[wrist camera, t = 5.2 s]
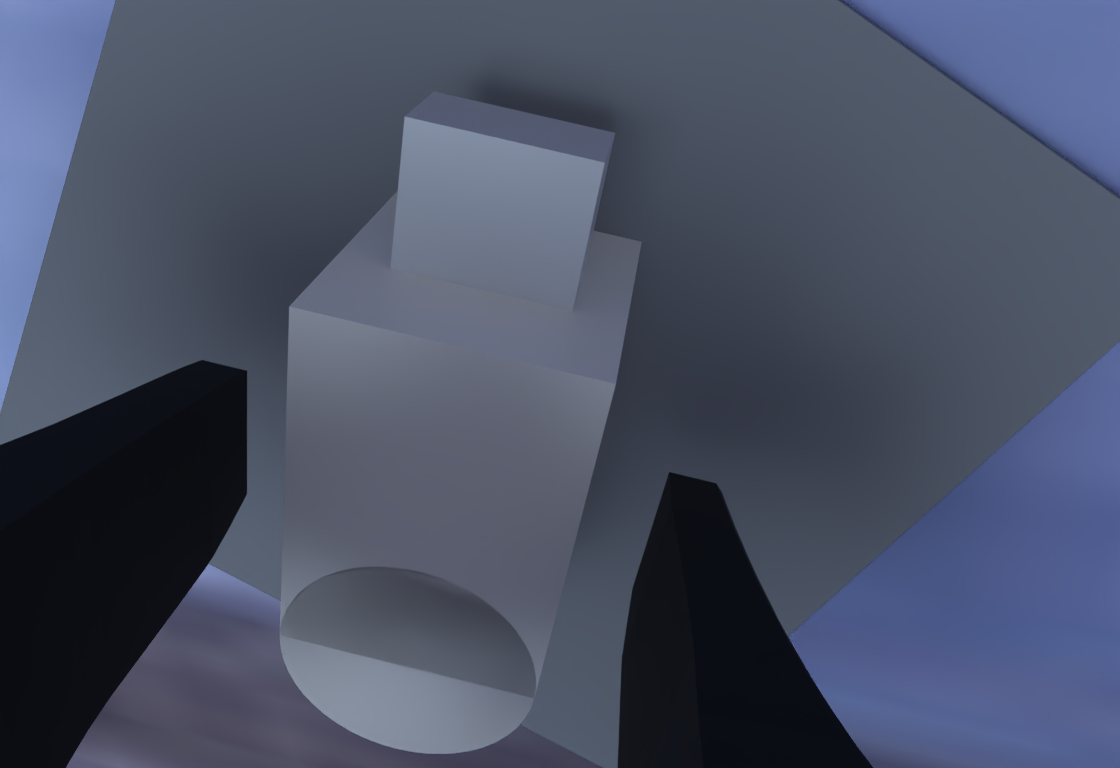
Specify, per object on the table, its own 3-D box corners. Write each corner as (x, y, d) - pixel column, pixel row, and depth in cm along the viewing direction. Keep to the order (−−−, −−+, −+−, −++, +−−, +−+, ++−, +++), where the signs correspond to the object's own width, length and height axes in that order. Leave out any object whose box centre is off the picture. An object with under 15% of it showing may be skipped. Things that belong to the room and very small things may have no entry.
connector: (555, 583, 16) (513, 777, 13) (368, 537, 16) (277, 718, 13) (673, 115, 12) (658, 222, 8) (414, 56, 12) (293, 137, 8)
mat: (628, 755, 19) (626, 780, 19) (11, 432, 17) (-10, 450, 17) (1187, 245, 12) (1208, 261, 12) (258, -412, 10) (234, -426, 10)
